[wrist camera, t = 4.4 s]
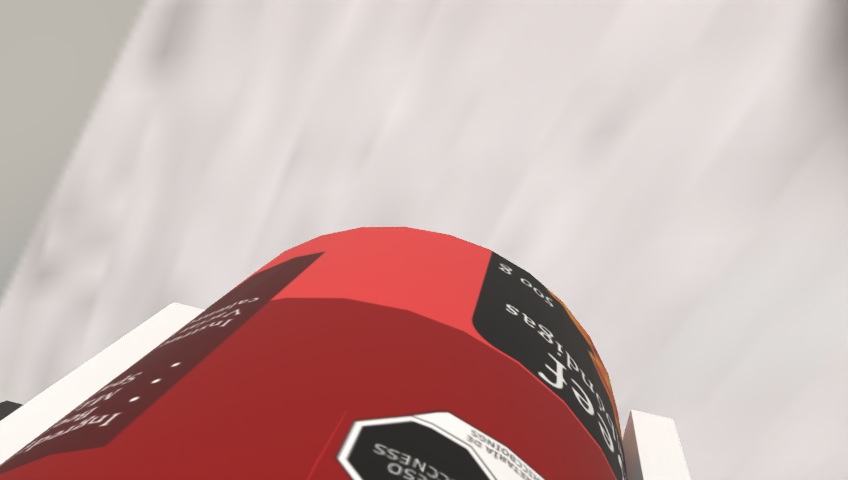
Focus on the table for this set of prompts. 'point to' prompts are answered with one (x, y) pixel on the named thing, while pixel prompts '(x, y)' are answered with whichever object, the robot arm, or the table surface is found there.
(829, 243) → the table surface
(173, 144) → the table surface
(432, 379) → the canned food
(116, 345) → the robot arm
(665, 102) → the table surface
